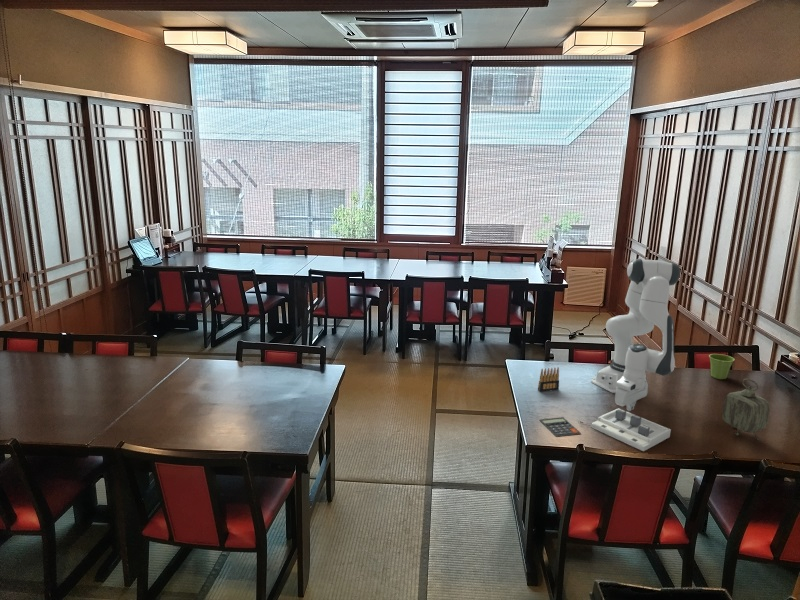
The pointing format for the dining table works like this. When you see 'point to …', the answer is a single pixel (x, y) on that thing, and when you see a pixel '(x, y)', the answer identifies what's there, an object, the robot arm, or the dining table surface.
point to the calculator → (559, 426)
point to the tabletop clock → (746, 410)
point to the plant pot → (720, 365)
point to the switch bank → (631, 430)
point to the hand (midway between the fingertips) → (629, 409)
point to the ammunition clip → (549, 380)
